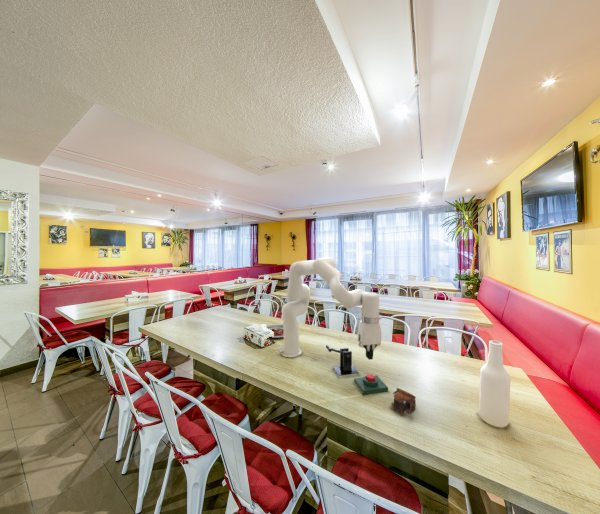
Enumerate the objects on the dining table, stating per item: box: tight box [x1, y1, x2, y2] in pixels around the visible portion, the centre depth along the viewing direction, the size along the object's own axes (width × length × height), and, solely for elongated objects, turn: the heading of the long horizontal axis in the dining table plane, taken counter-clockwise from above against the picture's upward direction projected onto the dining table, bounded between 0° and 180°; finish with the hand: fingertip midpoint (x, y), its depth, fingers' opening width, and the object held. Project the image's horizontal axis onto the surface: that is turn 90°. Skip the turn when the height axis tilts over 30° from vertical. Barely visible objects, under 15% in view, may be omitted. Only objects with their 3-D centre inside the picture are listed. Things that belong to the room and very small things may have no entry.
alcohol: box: [478, 339, 511, 428], centre depth 90 cm, size 9×9×30 cm
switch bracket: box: [332, 347, 360, 377], centre depth 125 cm, size 11×9×12 cm
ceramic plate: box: [266, 324, 284, 338], centre depth 181 cm, size 26×26×3 cm
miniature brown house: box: [390, 387, 417, 416], centre depth 96 cm, size 12×10×8 cm
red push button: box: [366, 373, 376, 382], centre depth 112 cm, size 4×4×2 cm
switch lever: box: [325, 344, 346, 355], centre depth 124 cm, size 12×5×2 cm, turn 103°
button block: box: [353, 374, 389, 396], centre depth 112 cm, size 12×10×4 cm
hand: (369, 358), depth 112 cm, fingers closed
